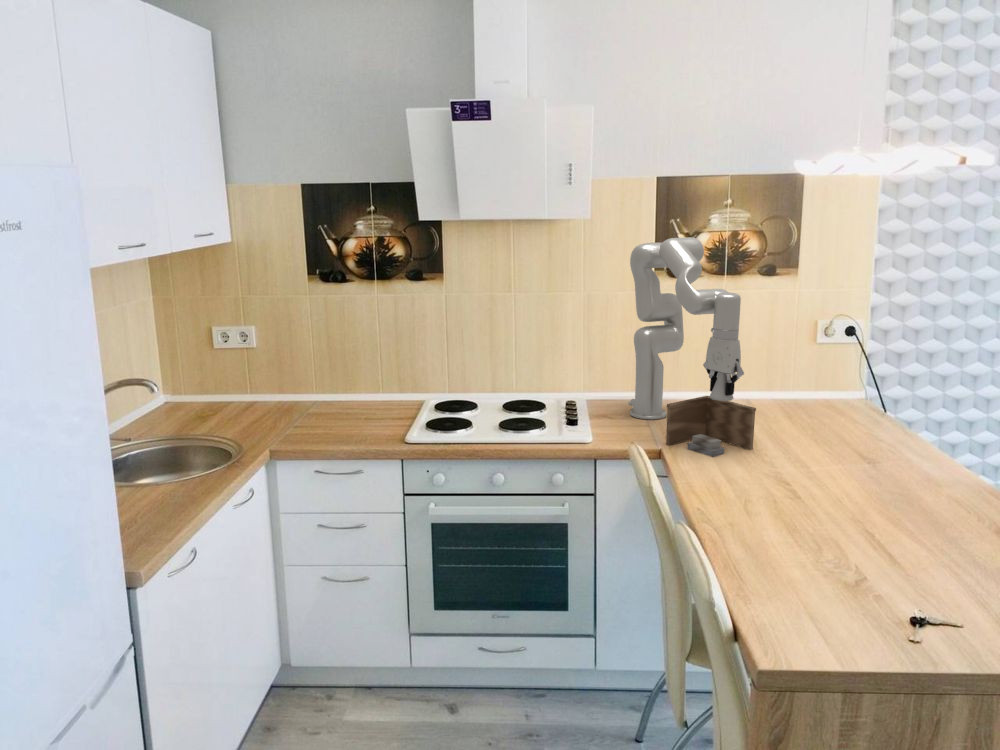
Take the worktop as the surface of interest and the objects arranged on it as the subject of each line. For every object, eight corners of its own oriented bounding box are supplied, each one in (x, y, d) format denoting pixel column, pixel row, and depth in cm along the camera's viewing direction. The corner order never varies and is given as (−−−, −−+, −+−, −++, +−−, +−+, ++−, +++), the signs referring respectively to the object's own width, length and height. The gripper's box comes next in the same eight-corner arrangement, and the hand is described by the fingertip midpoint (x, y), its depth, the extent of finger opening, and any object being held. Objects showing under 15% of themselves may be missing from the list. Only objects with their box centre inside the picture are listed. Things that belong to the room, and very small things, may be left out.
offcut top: (692, 443, 263) (692, 435, 262) (700, 441, 265) (700, 433, 264) (712, 449, 256) (712, 442, 256) (720, 447, 258) (720, 440, 258)
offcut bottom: (687, 450, 263) (687, 443, 263) (697, 447, 266) (698, 440, 266) (713, 458, 255) (713, 451, 255) (723, 455, 258) (724, 447, 258)
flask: (734, 402, 257) (736, 370, 255) (709, 401, 258) (711, 368, 256) (732, 396, 264) (734, 364, 262) (708, 395, 265) (710, 363, 263)
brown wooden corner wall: (665, 444, 268) (666, 404, 265) (705, 434, 278) (707, 395, 275) (713, 460, 253) (715, 417, 250) (753, 449, 263) (756, 408, 260)
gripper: (695, 331, 261) (692, 388, 265) (739, 340, 248) (735, 400, 252) (711, 328, 265) (708, 385, 270) (756, 337, 252) (752, 397, 256)
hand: (721, 392), depth 261 cm, fingers closed on flask, 5 cm apart
